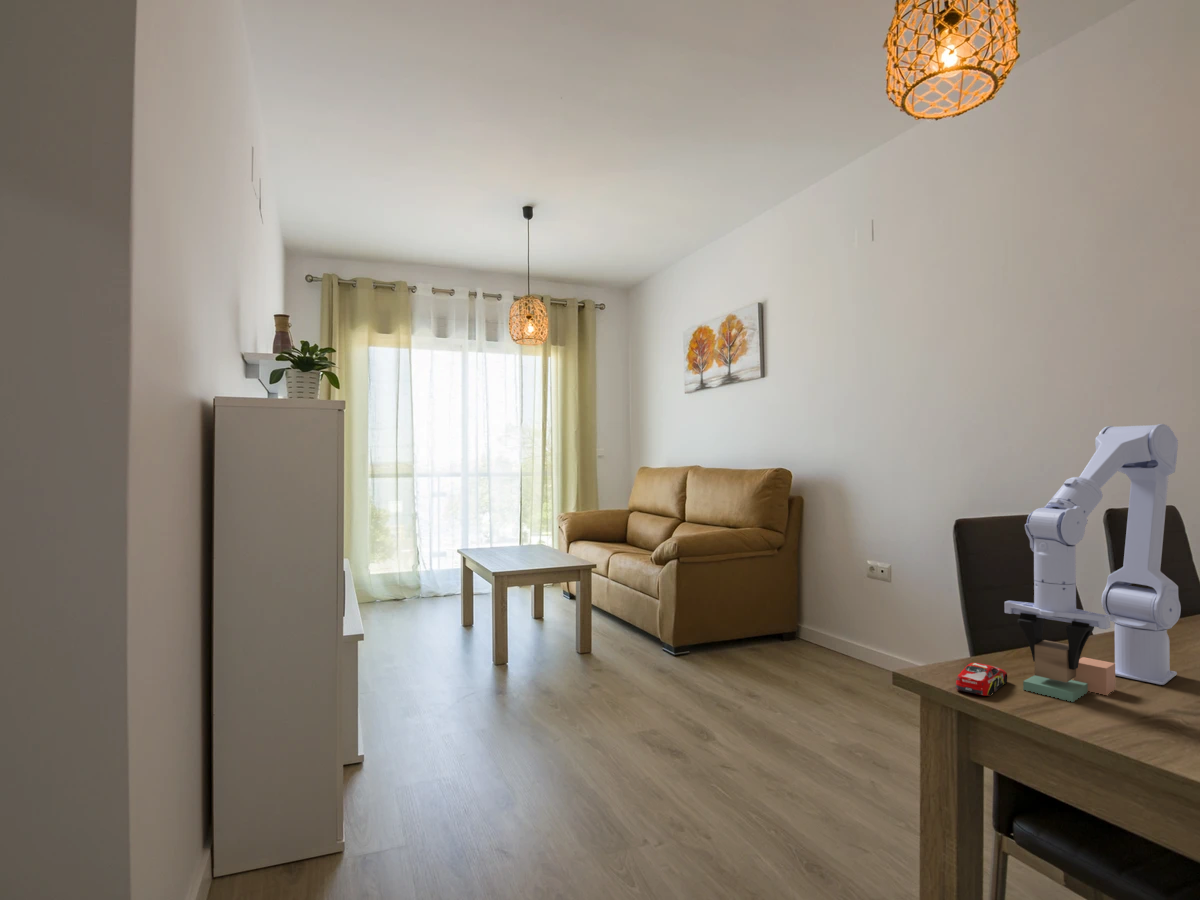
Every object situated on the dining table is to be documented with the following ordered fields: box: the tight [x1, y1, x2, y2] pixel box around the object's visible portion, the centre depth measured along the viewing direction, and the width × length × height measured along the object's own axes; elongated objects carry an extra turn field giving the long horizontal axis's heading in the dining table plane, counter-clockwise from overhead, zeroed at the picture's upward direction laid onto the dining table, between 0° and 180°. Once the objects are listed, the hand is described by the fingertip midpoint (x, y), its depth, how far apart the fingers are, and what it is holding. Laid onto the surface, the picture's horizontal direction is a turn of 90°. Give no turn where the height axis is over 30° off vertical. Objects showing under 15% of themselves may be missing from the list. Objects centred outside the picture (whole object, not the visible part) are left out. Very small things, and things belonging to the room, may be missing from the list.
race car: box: [955, 662, 1008, 697], centre depth 114 cm, size 13×5×4 cm, turn 133°
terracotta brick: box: [1073, 656, 1116, 696], centre depth 113 cm, size 4×4×4 cm
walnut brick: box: [1034, 639, 1076, 682], centre depth 111 cm, size 4×4×5 cm
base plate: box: [1022, 674, 1089, 703], centre depth 111 cm, size 7×7×2 cm
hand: (1055, 664), depth 111 cm, fingers closed on walnut brick, 4 cm apart
